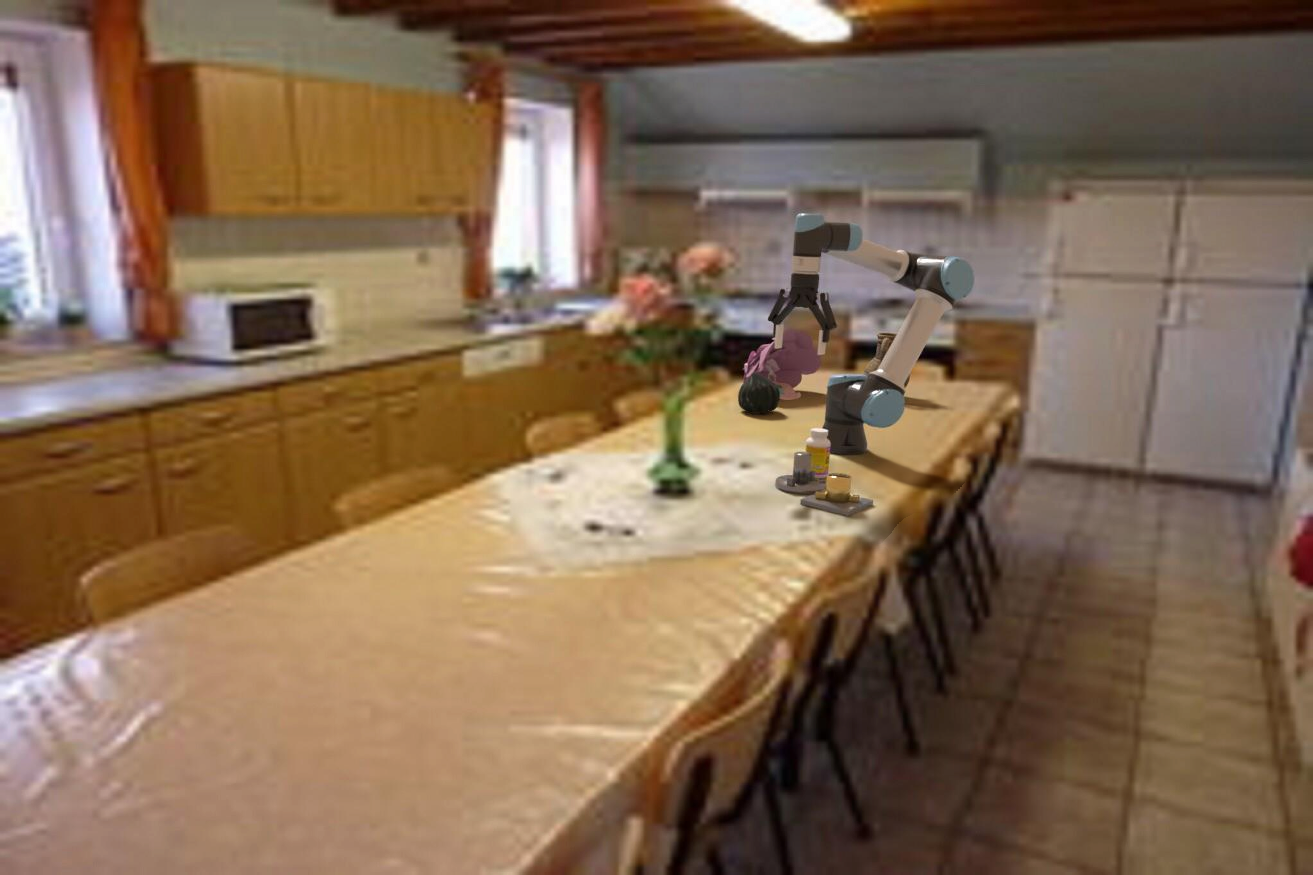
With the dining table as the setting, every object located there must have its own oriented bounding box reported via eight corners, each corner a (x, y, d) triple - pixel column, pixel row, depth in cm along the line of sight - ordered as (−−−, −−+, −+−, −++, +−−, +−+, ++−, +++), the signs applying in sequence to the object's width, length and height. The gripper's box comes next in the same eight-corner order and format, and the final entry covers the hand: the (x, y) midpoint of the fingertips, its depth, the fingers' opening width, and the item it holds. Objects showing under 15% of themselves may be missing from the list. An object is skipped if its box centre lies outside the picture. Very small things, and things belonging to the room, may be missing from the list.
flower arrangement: (780, 417, 353) (797, 346, 342) (724, 397, 362) (739, 327, 351) (813, 394, 382) (830, 328, 370) (761, 376, 391) (776, 311, 380)
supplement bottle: (827, 480, 254) (831, 433, 251) (802, 477, 255) (806, 431, 252) (828, 473, 260) (832, 428, 257) (803, 471, 261) (807, 426, 258)
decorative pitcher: (900, 404, 362) (907, 339, 356) (855, 398, 369) (861, 335, 363) (912, 395, 381) (919, 333, 375) (868, 390, 388) (874, 329, 382)
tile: (826, 493, 242) (827, 488, 241) (872, 504, 234) (873, 500, 233) (800, 503, 232) (800, 499, 232) (847, 516, 224) (848, 511, 224)
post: (791, 477, 255) (794, 445, 253) (834, 487, 247) (837, 454, 245) (765, 486, 245) (768, 453, 243) (809, 498, 237) (812, 463, 235)
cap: (858, 498, 235) (860, 474, 233) (859, 505, 229) (861, 480, 227) (815, 494, 236) (817, 470, 235) (815, 501, 230) (817, 476, 229)
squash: (793, 398, 336) (769, 363, 338) (775, 406, 324) (750, 370, 326) (765, 419, 344) (742, 385, 346) (746, 427, 332) (722, 392, 334)
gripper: (758, 269, 258) (753, 346, 263) (840, 276, 243) (833, 358, 248) (773, 268, 263) (768, 344, 268) (854, 275, 248) (846, 355, 253)
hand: (799, 351), depth 258 cm, fingers open, 13 cm apart
